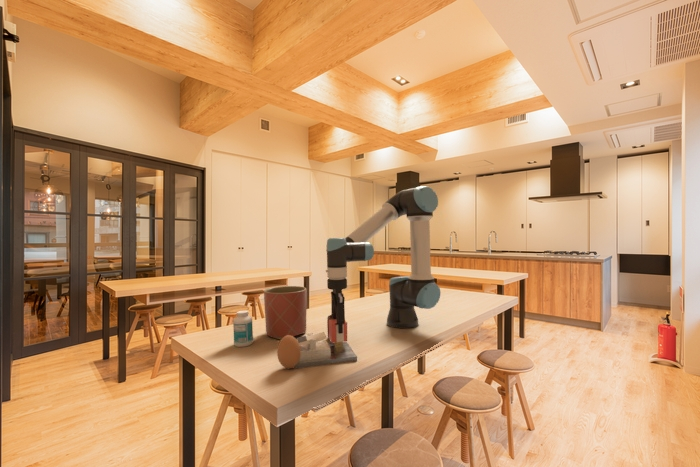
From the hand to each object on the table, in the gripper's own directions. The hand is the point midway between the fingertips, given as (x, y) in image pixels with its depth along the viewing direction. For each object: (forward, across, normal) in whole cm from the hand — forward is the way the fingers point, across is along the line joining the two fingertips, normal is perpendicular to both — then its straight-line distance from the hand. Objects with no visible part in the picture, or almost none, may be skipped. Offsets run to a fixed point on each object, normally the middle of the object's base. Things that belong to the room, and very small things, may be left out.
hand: (338, 338), depth 121 cm
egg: (+5, +11, -19) cm, 22 cm away
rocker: (-3, +6, -11) cm, 13 cm away
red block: (0, 0, 0) cm, 0 cm away
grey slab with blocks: (+4, +4, -7) cm, 9 cm away
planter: (+5, -28, -18) cm, 34 cm away
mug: (+5, -12, +2) cm, 13 cm away
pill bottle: (+5, -18, -36) cm, 41 cm away
